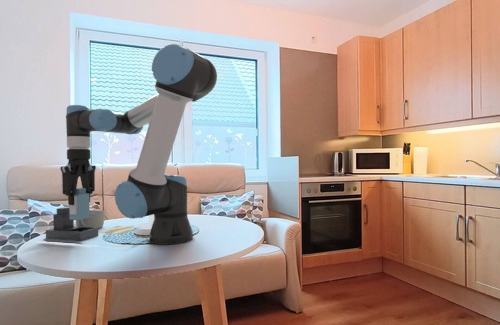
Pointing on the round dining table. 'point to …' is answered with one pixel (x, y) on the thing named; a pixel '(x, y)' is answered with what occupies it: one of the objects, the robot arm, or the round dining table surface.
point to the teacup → (92, 219)
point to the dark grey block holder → (68, 228)
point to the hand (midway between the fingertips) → (79, 212)
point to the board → (117, 230)
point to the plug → (81, 205)
